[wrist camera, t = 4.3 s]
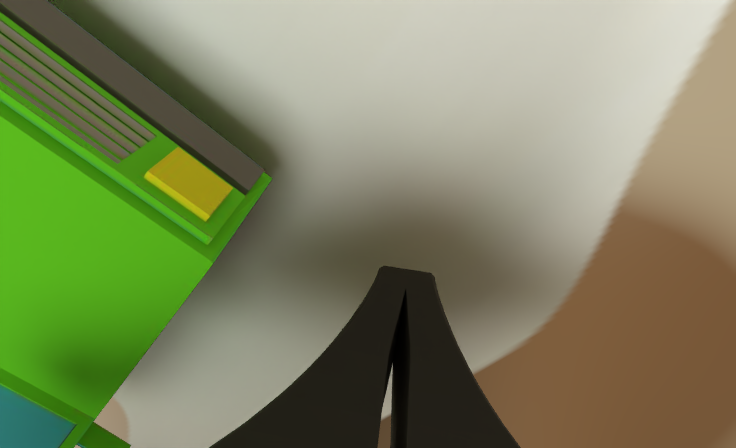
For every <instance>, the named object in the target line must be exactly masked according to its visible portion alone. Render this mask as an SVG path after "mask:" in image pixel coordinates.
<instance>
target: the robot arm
mask: <svg viewBox="0 0 736 448" xmlns="http://www.w3.org/2000/svg"><path fill="white" fill-rule="evenodd" d="M392 363H393V374H392V411H391V445H390V448H520V446H519V445H518V443H517V442H516V441H515V439H514V438H513V437H512V435H511V434H510V433H509V431H508V430H507V428H506V427H505V426H504V424H503V423H502V421H501V420H500V418H499V417H498V415H497V414H496V412H495V411H494V409H493V408H492V406H491V405H490V403H489V401H488V400H487V398H486V397H485V395H484V393H483V391H482V390H481V388H480V386H479V385H478V383H477V381H476V379H475V378H474V376H473V374H472V372H471V370H470V368H469V366H468V364H467V362H466V360H465V358H464V356H463V354H462V352H461V350H460V348H459V346H458V344H457V342H456V340H455V337H454V335H453V332H452V330H451V328H450V325H449V323H448V320H447V318H446V315H445V312H444V310H443V307H442V304H441V301H440V298H439V294H438V291H437V287H436V283H435V277H434V276H433V275H432V274H431V273H427V272H420V271H414V270H408V269H401V268H395V267H389V266H383V267H381V268H379V271H378V274H377V276H376V278H375V281H374V283H373V285H372V286H371V288H370V290H369V292H368V293H367V295H366V297H365V298H364V300H363V302H362V303H361V304H360V306H359V307H358V309H357V310H356V312H355V313H354V315H353V316H352V318H351V319H350V320H349V322H348V323H347V324H346V326H345V327H344V328H343V329H342V331H341V332H340V333H339V334H338V336H337V337H336V338H335V339H334V341H333V342H332V343H331V344H330V345H329V347H328V348H327V349H326V350H325V351H324V352H323V353H322V354H321V355H320V357H319V358H318V359H317V360H316V361H315V362H314V363H313V364H312V365H311V366H310V367H309V368H308V369H307V370H306V371H305V372H304V373H303V374H302V375H301V376H300V377H299V378H298V379H297V380H295V381H294V382H293V383H292V384H291V385H290V386H289V387H288V388H287V389H286V390H285V391H283V392H282V393H281V394H280V395H279V396H278V397H276V398H275V399H274V400H273V401H272V402H270V403H269V404H268V405H267V406H265V407H264V408H263V409H262V410H260V411H259V412H258V413H257V414H255V415H254V416H253V417H252V418H250V419H249V420H248V421H246V422H245V423H244V424H242V425H241V426H240V427H238V428H237V429H235V430H234V431H232V432H231V433H230V434H228V435H227V436H225V437H224V438H222V439H221V440H219V441H218V442H216V443H215V444H213V445H212V446H211V447H209V448H377V446H378V437H379V428H380V421H381V412H382V407H383V403H384V398H385V394H386V390H387V385H388V381H389V376H390V372H391V368H392Z"/></svg>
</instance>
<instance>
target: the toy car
mask: <svg viewBox="0 0 736 448" xmlns="http://www.w3.org/2000/svg"><path fill="white" fill-rule="evenodd" d="M264 171H265V170H264V169H263V168H262V167H261V166H259V165H258V164H257V163H255V162H254V161H253V160H252V159H250V158H249V157H248V156H246V155H245V154H244V153H243V152H241V151H240V150H239V149H237V148H236V147H235V146H234V145H232V144H231V143H230V142H228V141H227V140H226V139H225V138H223V137H222V136H221V135H219V134H218V133H217V132H216V131H214V130H213V129H212V128H210V127H209V126H208V125H207V124H205V123H204V122H203V121H201V120H200V119H199V118H198V117H196V116H195V115H194V114H192V113H191V112H190V111H189V110H187V109H186V108H185V107H183V106H182V105H181V104H180V103H178V102H177V101H176V100H174V99H173V98H172V97H171V96H169V95H168V94H167V93H165V92H164V91H163V90H162V89H160V88H159V87H158V86H156V85H155V84H154V83H153V82H151V81H150V80H149V79H147V78H146V77H145V76H144V75H142V74H141V73H140V72H138V71H137V70H136V69H135V68H133V67H132V66H131V65H129V64H128V63H127V62H126V61H124V60H123V59H122V58H120V57H119V56H118V55H117V54H115V53H114V52H113V51H111V50H110V49H109V48H108V47H106V46H105V45H104V44H102V43H101V42H100V41H99V40H97V39H96V38H95V37H93V36H92V35H91V34H90V33H88V32H87V31H86V30H84V29H83V28H82V27H81V26H79V25H78V24H77V23H75V22H74V21H73V20H72V19H70V18H69V17H68V16H66V15H65V14H64V13H63V12H61V11H60V10H59V9H57V8H56V7H55V6H54V5H52V4H51V3H50V2H48V1H47V0H0V448H74V447H75V445H78V446H80V447H81V448H130V446H131V445H130V444H128V443H126V442H125V441H123V440H122V439H120V438H118V437H117V436H115V435H114V434H112V433H110V432H109V431H107V430H105V429H104V428H102V427H101V426H99V425H97V424H96V423H94V422H93V421H94V420H95V419H96V417H97V416H98V415H99V413H100V412H101V411H102V409H103V408H104V407H105V405H106V404H107V403H108V401H109V400H110V399H111V398H112V396H113V395H114V394H115V392H116V391H117V390H118V388H119V387H120V386H121V384H122V383H123V382H124V380H125V379H126V378H127V376H128V375H129V374H130V373H131V371H132V370H133V369H134V367H135V366H136V365H137V363H138V362H139V361H140V359H141V358H142V357H143V355H144V354H145V353H146V351H147V350H148V349H149V347H150V346H151V345H152V344H153V342H154V341H155V340H156V338H157V337H158V336H159V334H160V333H161V332H162V330H163V329H164V328H165V326H166V325H167V324H168V322H169V321H170V320H171V318H172V317H173V316H174V315H175V313H176V312H177V311H178V309H179V308H180V307H181V305H182V304H183V303H184V301H185V300H186V299H187V297H188V296H189V295H190V293H191V292H192V291H193V289H194V288H195V287H196V286H197V284H198V283H199V282H200V280H201V279H202V278H203V276H204V275H205V274H206V272H207V271H208V270H209V268H210V267H211V266H212V264H213V263H214V262H215V260H216V259H217V257H218V256H219V255H220V253H221V252H222V250H223V249H224V247H225V246H226V245H227V243H228V242H229V240H230V239H231V237H232V236H233V235H234V233H235V232H236V230H237V229H238V227H239V226H240V225H241V223H242V222H243V220H244V219H245V217H246V216H247V215H248V213H249V212H250V210H251V209H252V207H253V206H254V205H255V203H256V202H257V200H258V199H259V197H260V196H261V195H262V193H263V192H264V190H265V189H266V187H267V186H268V185H269V183H270V182H271V180H272V178H271V177H270V176H269V175H267V174H266V173H265V172H264Z"/></svg>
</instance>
